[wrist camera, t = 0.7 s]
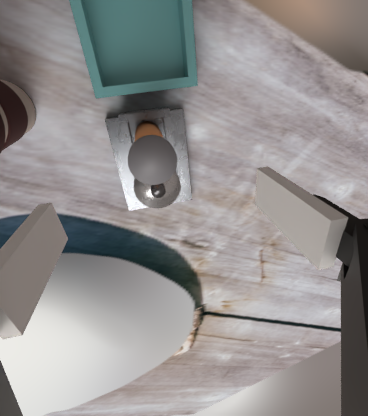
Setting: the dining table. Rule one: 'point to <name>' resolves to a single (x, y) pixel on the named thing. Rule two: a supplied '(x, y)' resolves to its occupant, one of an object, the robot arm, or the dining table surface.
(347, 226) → the robot arm
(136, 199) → the silver rectangular stand
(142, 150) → the pin
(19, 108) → the coffee cup
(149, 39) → the tray
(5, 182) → the dining table surface
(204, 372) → the dining table surface
